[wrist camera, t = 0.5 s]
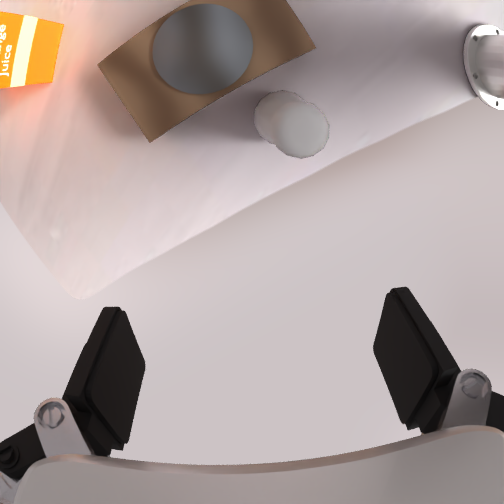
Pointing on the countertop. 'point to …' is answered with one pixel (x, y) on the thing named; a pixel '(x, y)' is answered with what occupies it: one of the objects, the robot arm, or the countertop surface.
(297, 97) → the salt shaker
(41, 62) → the orange juice
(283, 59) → the walnut stand
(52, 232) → the countertop surface
